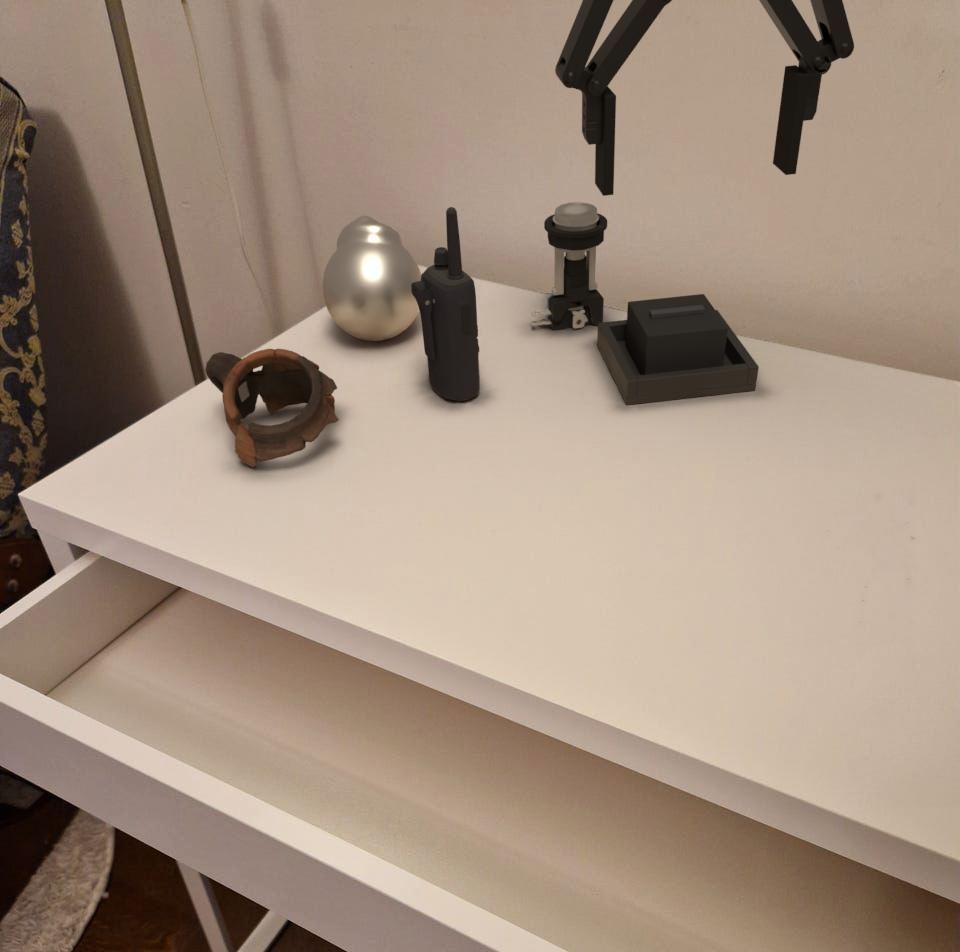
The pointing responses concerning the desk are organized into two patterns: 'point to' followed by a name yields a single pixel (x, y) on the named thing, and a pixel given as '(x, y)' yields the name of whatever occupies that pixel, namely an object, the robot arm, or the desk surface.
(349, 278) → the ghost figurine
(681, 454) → the desk surface
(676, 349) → the top pad
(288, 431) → the pottery mug
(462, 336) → the two-way radio
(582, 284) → the push button
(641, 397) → the base pad
